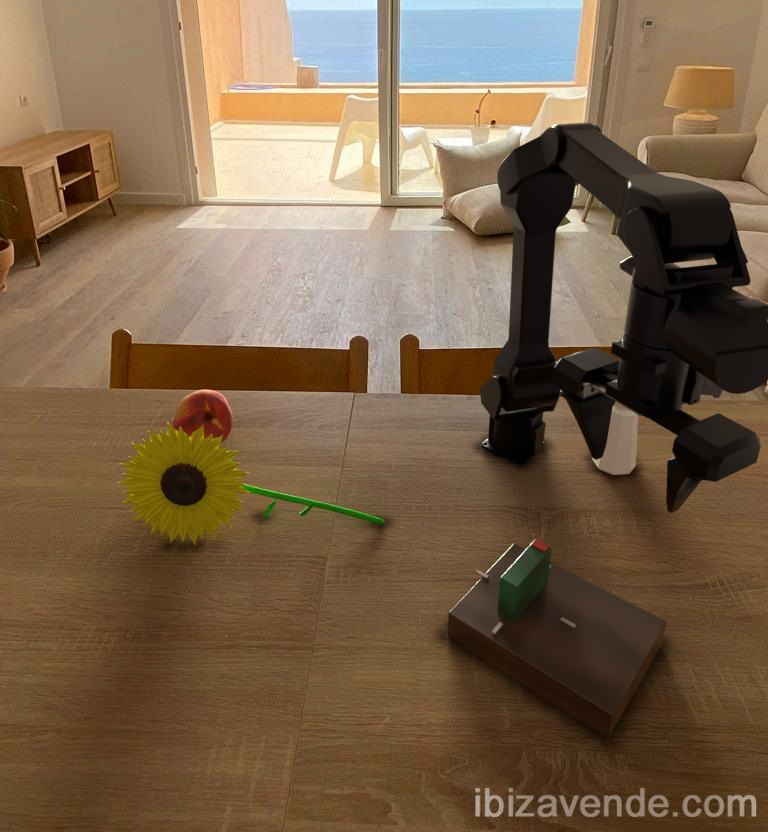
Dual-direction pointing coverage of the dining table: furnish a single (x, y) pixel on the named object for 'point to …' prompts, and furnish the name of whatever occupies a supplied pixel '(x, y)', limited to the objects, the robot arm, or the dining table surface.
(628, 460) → the pepper shaker
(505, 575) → the pointer knob
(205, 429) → the fruit
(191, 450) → the decorative plant
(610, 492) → the dining table surface
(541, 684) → the dial panel
